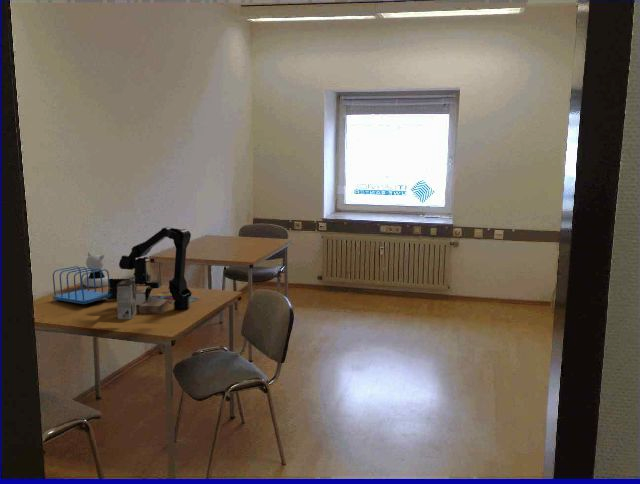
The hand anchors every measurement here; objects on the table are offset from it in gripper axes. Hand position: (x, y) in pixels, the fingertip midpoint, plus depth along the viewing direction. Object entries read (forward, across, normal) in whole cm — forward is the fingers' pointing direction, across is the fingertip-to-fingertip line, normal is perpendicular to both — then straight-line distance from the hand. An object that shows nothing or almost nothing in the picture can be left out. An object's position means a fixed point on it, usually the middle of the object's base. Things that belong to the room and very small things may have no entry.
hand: (141, 301), depth 279 cm
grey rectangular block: (+2, +16, -12) cm, 20 cm away
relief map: (+3, -12, -14) cm, 19 cm away
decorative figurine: (+2, +40, -41) cm, 57 cm away
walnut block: (+2, -9, +8) cm, 13 cm away
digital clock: (+2, +17, -26) cm, 31 cm away
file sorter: (+2, +34, -9) cm, 35 cm away
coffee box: (+2, -1, +21) cm, 21 cm away
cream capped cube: (+1, 0, 0) cm, 1 cm away
